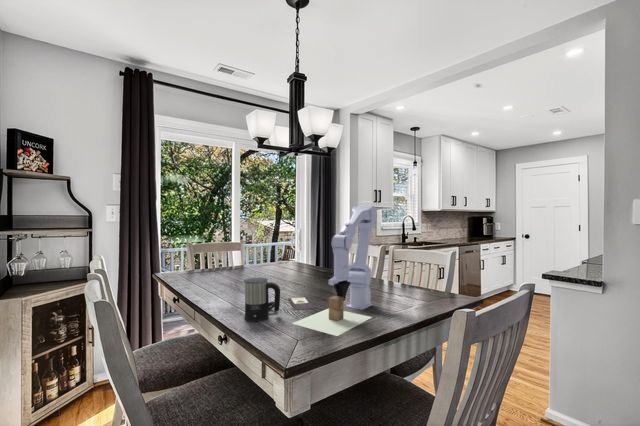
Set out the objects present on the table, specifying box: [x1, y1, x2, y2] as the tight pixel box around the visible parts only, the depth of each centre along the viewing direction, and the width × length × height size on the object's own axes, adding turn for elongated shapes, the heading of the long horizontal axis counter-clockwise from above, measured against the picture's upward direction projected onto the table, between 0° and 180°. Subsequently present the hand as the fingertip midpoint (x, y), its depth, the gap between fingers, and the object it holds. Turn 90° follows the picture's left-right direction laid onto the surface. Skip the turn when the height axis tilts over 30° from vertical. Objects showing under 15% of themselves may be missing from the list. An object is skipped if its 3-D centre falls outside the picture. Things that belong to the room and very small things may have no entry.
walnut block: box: [328, 295, 345, 321], centre depth 123 cm, size 4×4×8 cm
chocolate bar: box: [288, 296, 317, 311], centre depth 144 cm, size 9×1×18 cm
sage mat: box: [291, 307, 373, 337], centre depth 122 cm, size 24×20×1 cm
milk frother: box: [243, 276, 281, 322], centre depth 130 cm, size 14×16×15 cm
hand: (341, 300), depth 126 cm, fingers closed
